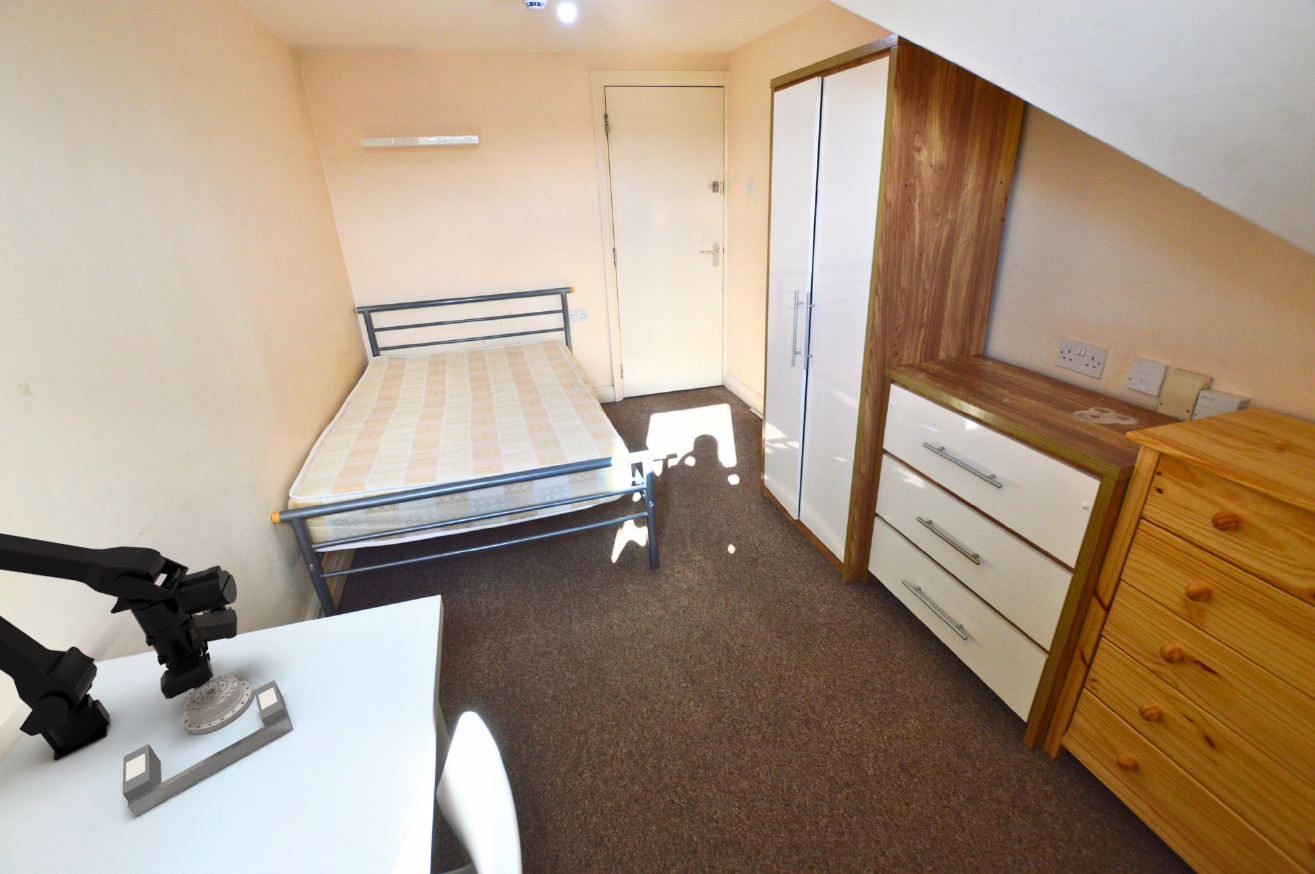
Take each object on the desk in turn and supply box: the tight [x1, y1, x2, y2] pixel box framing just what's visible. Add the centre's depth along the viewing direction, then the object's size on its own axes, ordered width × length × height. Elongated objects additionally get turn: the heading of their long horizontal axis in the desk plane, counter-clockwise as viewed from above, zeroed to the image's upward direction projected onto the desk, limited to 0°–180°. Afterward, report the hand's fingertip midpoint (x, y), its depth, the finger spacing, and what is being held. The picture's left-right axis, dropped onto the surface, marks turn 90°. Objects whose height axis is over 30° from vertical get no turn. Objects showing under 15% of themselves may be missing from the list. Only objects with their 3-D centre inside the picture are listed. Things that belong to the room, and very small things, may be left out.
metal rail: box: [127, 715, 294, 818], centre depth 86 cm, size 20×1×2 cm, turn 131°
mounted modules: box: [122, 679, 292, 802], centre depth 89 cm, size 20×8×4 cm, turn 130°
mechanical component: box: [181, 674, 255, 736], centre depth 97 cm, size 10×4×10 cm
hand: (204, 688), depth 100 cm, fingers closed
